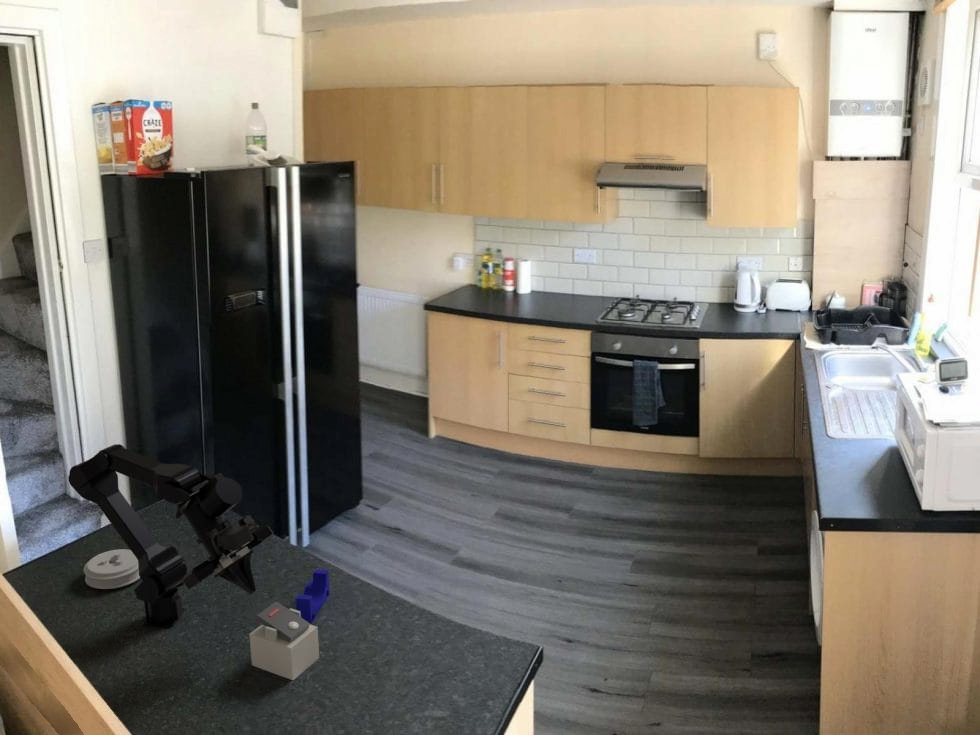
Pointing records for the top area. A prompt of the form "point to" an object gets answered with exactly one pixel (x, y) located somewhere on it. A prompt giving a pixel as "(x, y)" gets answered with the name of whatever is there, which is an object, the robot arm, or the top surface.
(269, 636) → the switch box
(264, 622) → the rocker
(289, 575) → the top surface
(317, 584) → the blue notched block
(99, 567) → the lid
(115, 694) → the top surface
